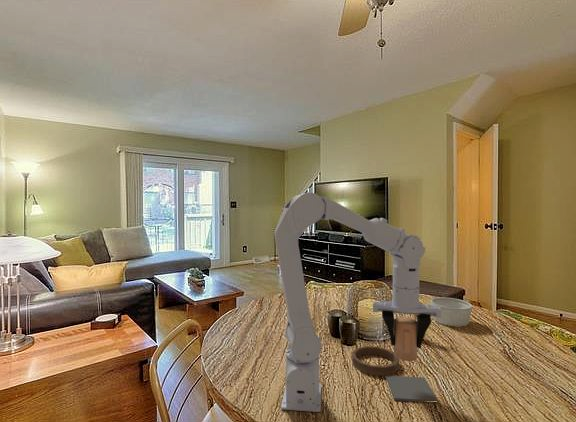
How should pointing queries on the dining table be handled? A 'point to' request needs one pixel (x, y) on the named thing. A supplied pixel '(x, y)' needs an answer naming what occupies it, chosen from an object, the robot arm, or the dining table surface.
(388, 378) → the charcoal mat
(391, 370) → the dark brown ring
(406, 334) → the pink rounded pillar
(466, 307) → the ramekin
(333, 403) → the dining table surface
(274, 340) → the dining table surface
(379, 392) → the dining table surface
